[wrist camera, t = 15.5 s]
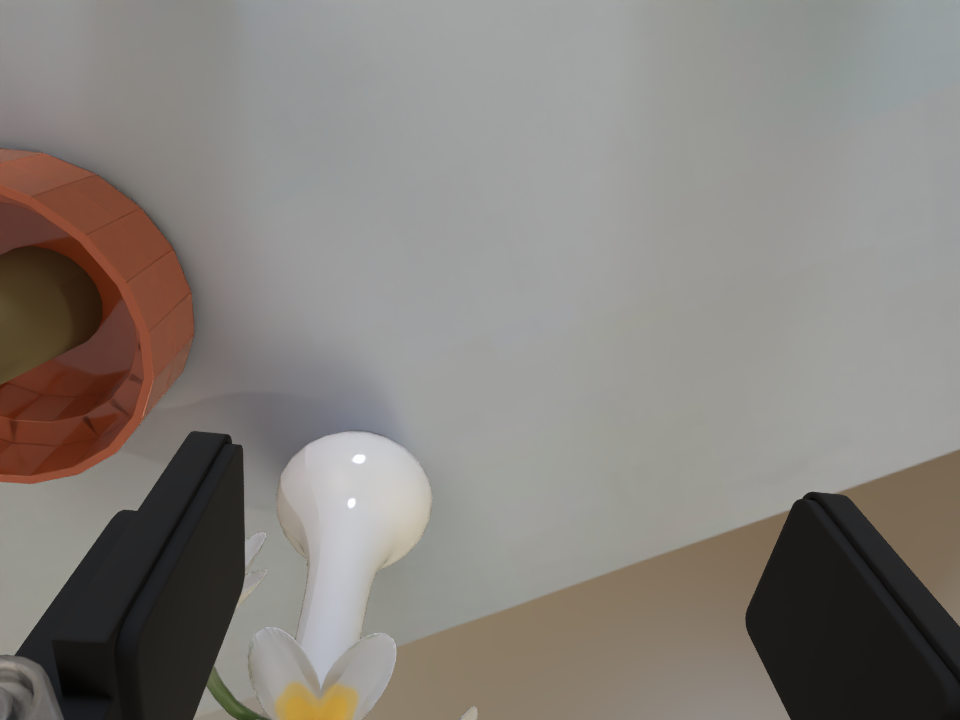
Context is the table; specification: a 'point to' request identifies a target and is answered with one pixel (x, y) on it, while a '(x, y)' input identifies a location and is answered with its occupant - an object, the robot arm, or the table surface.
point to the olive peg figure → (43, 308)
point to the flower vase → (334, 578)
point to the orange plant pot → (121, 334)
